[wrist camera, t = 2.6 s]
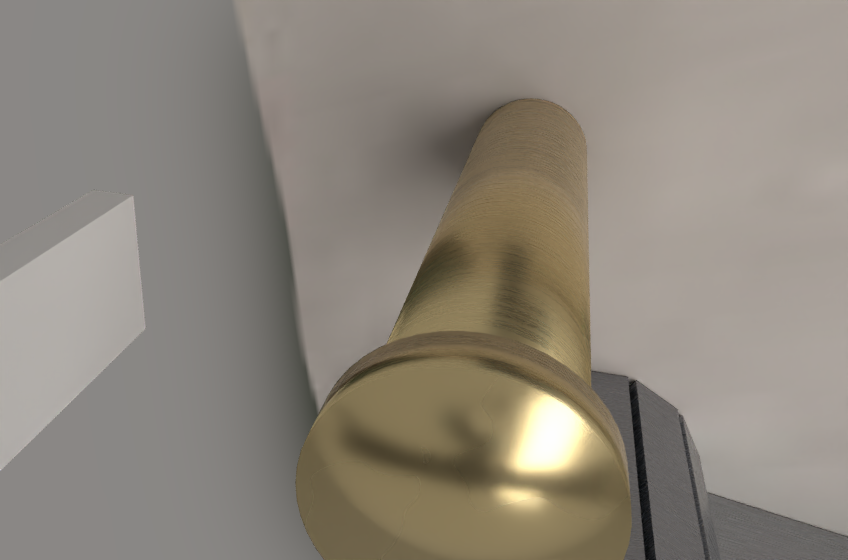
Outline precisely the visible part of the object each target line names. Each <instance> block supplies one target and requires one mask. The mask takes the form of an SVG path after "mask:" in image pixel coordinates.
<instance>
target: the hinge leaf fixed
mask: <svg viewBox="0 0 848 560" xmlns="http://www.w3.org/2000/svg"><path fill="white" fill-rule="evenodd" d="M591 388H592V389H593V390H594V391H595V392H596V393H597V394H598V396H599V397H600V399H601V400H602V401H603V403H604V404H605V405H606V407H607V408H608V409H609V411H610V413H611V415H612V417H613V418H614V420H615V422H616V424H617V426H618V428H619V431H620V434H621V436H622V439H623V442H624V445H625V451H626V456H627V461H628V473H629V486H630V498H631V516H632V528H631V535H630V541H629V546H628V548H627V551H626V554H625V557H624V560H721V558H720V553H719V548H718V544H717V539H716V534H715V529H714V525H713V520H712V515H711V510H710V505H709V501H708V496H707V491H706V486H705V481H704V477H703V472H702V467H701V462H700V458H699V454H698V452H697V450H696V447H695V445H694V442H693V440H692V437H691V435H690V432H689V430H688V428H687V425H686V423H685V420H684V418H683V416H679V415H678V409H676V408H675V407H673V406H672V405H671V404H669V403H668V402H666V401H665V400H663V399H662V398H661V397H659V396H658V395H656V394H655V393H654V392H652V391H651V390H649V389H648V388H646V387H645V386H644V385H642V384H641V383H639V382H638V381H637V380H636V381H635V382H634V383H633V384H632V385H631V386H630V387H629V382H628V377H625V376H618V375H612V374H606V373H599V372H593V371H591Z"/></svg>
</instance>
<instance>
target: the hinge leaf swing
mask: <svg viewBox="0 0 848 560" xmlns="http://www.w3.org/2000/svg"><path fill="white" fill-rule="evenodd" d="M707 496H708V501H709V505H710V510H711V515H712V520H713V525H714V529H715V534H716V539H717V544H718V548H719V553H720V558H721V560H848V537H845V536H842V535H839V534H836V533H833V532H830V531H827V530H823V529H820V528H817V527H814V526H811V525H808V524H804V523H801V522H798V521H795V520H792V519H789V518H785V517H782V516H779V515H776V514H773V513H770V512H767V511H763V510H760V509H757V508H754V507H751V506H748V505H744V504H741V503H738V502H735V501H732V500H729V499H726V498H722V497H719V496H716V495H713V494H710V493H707Z"/></svg>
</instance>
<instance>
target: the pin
mask: <svg viewBox="0 0 848 560" xmlns="http://www.w3.org/2000/svg"><path fill="white" fill-rule="evenodd" d="M296 495H297V503H298V507H299V511H300V515H301V518H302V521H303V523H304V526H305V529H306V531H307V533H308V535H309V537H310V539H311V541H312V542H313V544H314V546H315V547H316V549H317V551H318V552H319V553H320V555H321V556H322V557H323V559H324V560H624V557H625V554H626V551H627V548H628V546H629V541H630V535H631V528H632V516H631V498H630V486H629V473H628V461H627V456H626V451H625V445H624V442H623V439H622V436H621V434H620V431H619V428H618V426H617V424H616V422H615V420H614V418H613V417H612V415H611V413H610V411H609V409H608V408H607V407H606V405H605V404H604V403H603V401H602V400H601V399H600V397H599V396H598V394H597V393H596V392H595V391H594V390H593V389H592V388H591V346H590V294H589V241H588V188H587V146H586V140H585V137H584V134H583V131H582V129H581V127H580V125H579V124H578V122H577V121H576V120H575V119H574V117H573V116H572V115H571V114H570V113H569V112H567V111H566V110H565V109H563V108H562V107H560V106H559V105H557V104H554V103H552V102H549V101H546V100H541V99H522V100H517V101H514V102H511V103H508V104H506V105H504V106H502V107H501V108H499V109H498V110H496V111H495V112H494V113H493V114H492V115H491V116H490V117H489V118H488V119H487V120H486V122H485V123H484V125H483V126H482V128H481V130H480V132H479V135H478V137H477V139H476V141H475V144H474V146H473V148H472V151H471V153H470V155H469V157H468V160H467V162H466V164H465V167H464V169H463V171H462V173H461V176H460V178H459V180H458V182H457V185H456V187H455V189H454V192H453V194H452V196H451V198H450V201H449V203H448V205H447V207H446V210H445V212H444V214H443V217H442V219H441V221H440V223H439V226H438V228H437V230H436V233H435V235H434V237H433V239H432V242H431V244H430V246H429V248H428V251H427V253H426V255H425V258H424V260H423V262H422V264H421V267H420V269H419V271H418V274H417V276H416V278H415V280H414V283H413V285H412V287H411V289H410V292H409V294H408V296H407V299H406V301H405V303H404V305H403V308H402V310H401V312H400V314H399V317H398V319H397V321H396V324H395V326H394V328H393V330H392V333H391V335H390V337H389V340H388V342H387V344H386V345H384V346H382V347H379V348H378V349H376V350H374V351H373V352H371V353H369V354H367V355H366V356H364V357H363V358H361V359H360V360H359V361H358V362H356V363H355V364H354V365H353V366H351V367H350V368H349V369H348V370H347V371H346V372H345V373H344V375H343V376H342V377H341V378H340V379H339V380H338V381H337V383H336V384H335V386H334V387H333V389H332V390H331V392H330V393H329V395H328V397H327V399H326V401H325V403H324V405H323V407H322V408H321V410H320V412H319V414H318V416H317V418H316V420H315V422H314V424H313V426H312V428H311V430H310V432H309V434H308V436H307V438H306V440H305V443H304V445H303V447H302V450H301V453H300V457H299V460H298V464H297V471H296Z"/></svg>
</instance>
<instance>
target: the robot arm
mask: <svg viewBox="0 0 848 560" xmlns="http://www.w3.org/2000/svg"><path fill="white" fill-rule="evenodd" d="M145 329H146V327H145V317H144V306H143V295H142V285H141V274H140V263H139V252H138V241H137V230H136V220H135V209H134V198H133V195H128V194H121V193H114V192H106V191H98V190H92V191H91V192H89V193H87V194H85V195H84V196H82V197H80V198H79V199H77V200H75V201H74V202H72V203H70V204H68V205H67V206H65V207H63V208H61V209H60V210H58V211H56V212H55V213H53V214H51V215H50V216H48V217H46V218H44V219H42V220H41V221H39V222H37V223H36V224H34V225H32V226H31V227H29V228H27V229H25V230H24V231H22V232H20V233H18V234H17V235H15V236H13V237H12V238H10V239H8V240H6V241H5V242H3V243H1V244H0V471H1V470H2V469H3V468H4V467H5V466H6V465H7V464H8V463H9V462H10V461H11V460H12V459H13V458H14V457H15V456H16V455H17V454H18V453H19V452H20V451H21V450H22V449H23V448H24V447H25V446H26V445H27V444H28V443H29V442H30V441H31V440H32V439H33V438H34V437H36V436H37V434H38V433H40V432H41V431H42V430H43V429H44V428H45V427H46V426H47V425H48V424H49V423H50V422H51V421H52V420H53V419H54V418H55V417H56V416H57V415H58V414H59V413H60V412H61V411H62V410H63V409H64V408H65V407H66V406H67V405H68V404H69V403H70V402H71V401H72V400H73V399H74V398H75V397H76V396H77V395H78V394H79V393H81V392H82V391H83V390H84V389H85V388H86V387H87V386H88V385H89V384H90V383H91V382H92V381H93V380H94V379H95V378H96V377H97V376H98V375H99V374H100V373H101V372H102V371H103V370H104V369H105V368H106V367H107V366H108V365H109V364H110V363H111V362H112V361H113V360H114V359H115V358H116V357H117V356H118V355H119V354H120V353H121V352H122V351H123V350H124V349H125V348H126V347H128V346H129V345H130V344H131V342H132V341H133V340H135V339H136V338H137V337H138V336H139V335H140V334H141V333H142V332H143V331H144V330H145Z"/></svg>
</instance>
